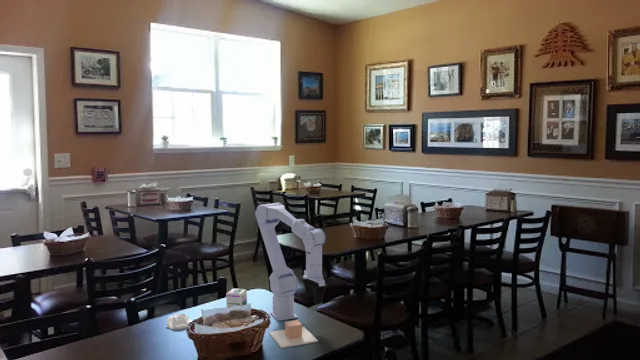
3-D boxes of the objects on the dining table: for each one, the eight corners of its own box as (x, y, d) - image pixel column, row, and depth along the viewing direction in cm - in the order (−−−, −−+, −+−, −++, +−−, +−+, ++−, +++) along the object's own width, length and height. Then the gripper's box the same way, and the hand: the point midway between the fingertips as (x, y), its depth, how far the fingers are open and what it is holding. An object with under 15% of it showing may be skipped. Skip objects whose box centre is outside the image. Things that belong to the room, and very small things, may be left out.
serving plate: (269, 333, 179) (269, 331, 179) (303, 327, 184) (303, 326, 184) (281, 348, 167) (281, 346, 167) (317, 341, 172) (317, 340, 172)
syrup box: (242, 334, 179) (241, 293, 177) (226, 332, 180) (225, 292, 178) (247, 327, 184) (247, 288, 183) (232, 326, 185) (231, 287, 184)
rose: (163, 311, 189) (190, 307, 193) (164, 323, 189) (190, 318, 194) (169, 320, 180) (196, 316, 184) (169, 332, 180) (196, 327, 185)
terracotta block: (285, 334, 177) (285, 321, 176) (297, 332, 179) (297, 320, 178) (289, 339, 173) (289, 326, 172) (301, 337, 175) (301, 324, 174)
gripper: (296, 259, 187) (296, 295, 188) (311, 269, 174) (311, 308, 175) (314, 257, 190) (314, 293, 191) (330, 267, 176) (330, 305, 178)
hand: (314, 300), depth 183 cm, fingers open, 7 cm apart
